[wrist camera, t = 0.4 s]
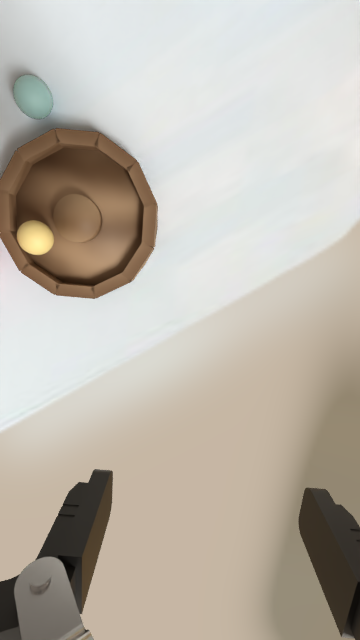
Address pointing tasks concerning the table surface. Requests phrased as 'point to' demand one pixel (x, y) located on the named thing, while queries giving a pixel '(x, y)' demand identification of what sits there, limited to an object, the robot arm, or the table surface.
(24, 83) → the bead teal
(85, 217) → the tray
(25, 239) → the bead mustard
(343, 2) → the table surface
